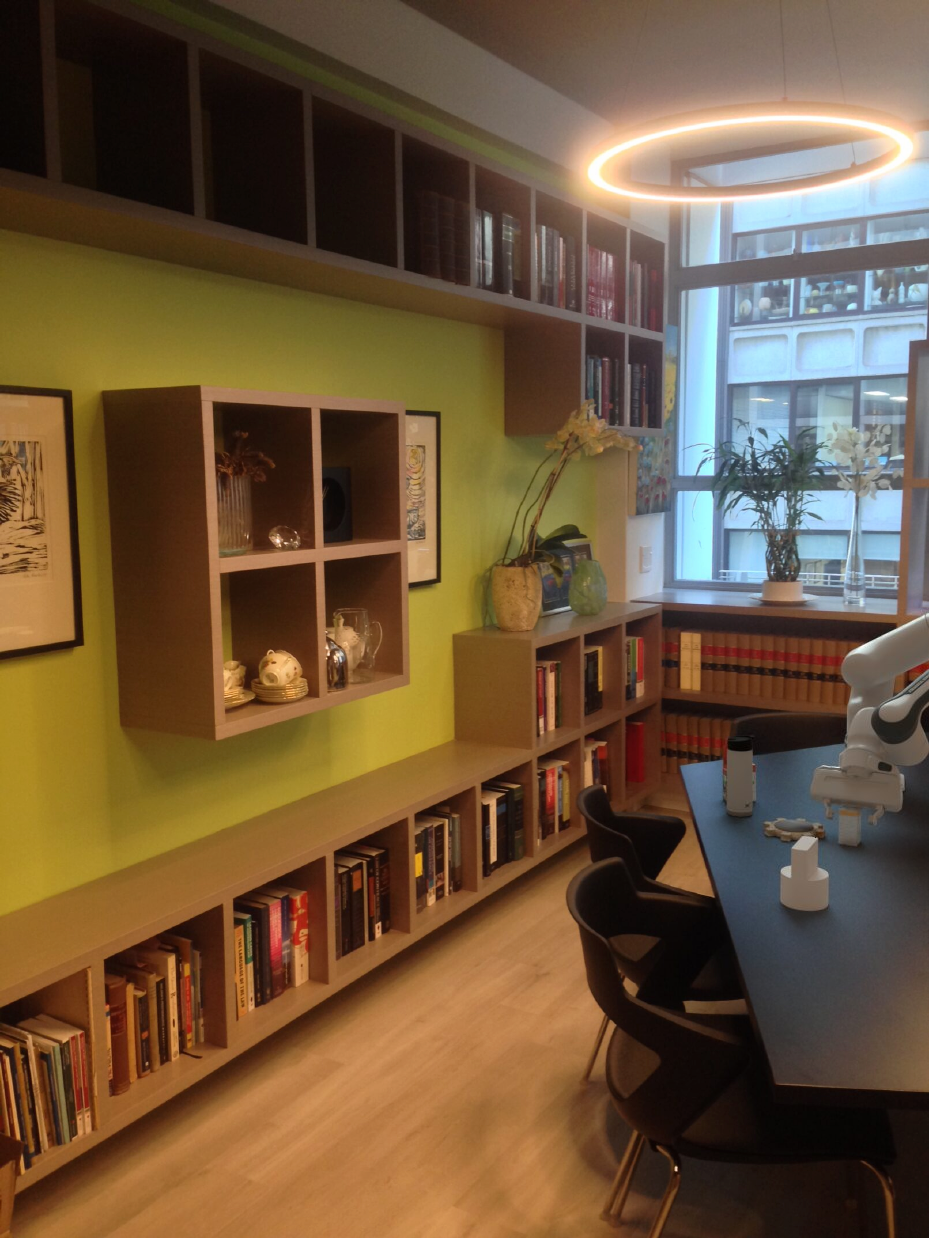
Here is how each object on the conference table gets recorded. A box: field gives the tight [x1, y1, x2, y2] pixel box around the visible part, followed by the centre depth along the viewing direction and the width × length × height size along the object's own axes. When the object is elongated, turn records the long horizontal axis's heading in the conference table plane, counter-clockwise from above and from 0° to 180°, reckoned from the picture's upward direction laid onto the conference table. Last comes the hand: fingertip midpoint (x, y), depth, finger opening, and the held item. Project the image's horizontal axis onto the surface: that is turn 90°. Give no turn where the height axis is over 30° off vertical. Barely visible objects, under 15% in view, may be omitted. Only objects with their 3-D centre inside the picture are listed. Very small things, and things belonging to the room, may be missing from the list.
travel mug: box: [726, 734, 755, 818], centre depth 266 cm, size 6×7×20 cm
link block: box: [837, 805, 862, 847], centre depth 243 cm, size 4×4×8 cm
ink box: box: [722, 745, 757, 803], centre depth 278 cm, size 4×8×15 cm, turn 98°
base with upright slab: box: [779, 836, 830, 912], centre depth 208 cm, size 9×9×12 cm
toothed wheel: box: [762, 817, 826, 843], centre depth 251 cm, size 14×14×2 cm
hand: (850, 821), depth 242 cm, fingers open, 8 cm apart
